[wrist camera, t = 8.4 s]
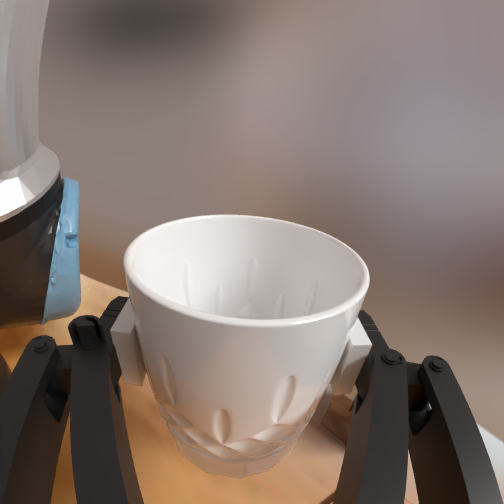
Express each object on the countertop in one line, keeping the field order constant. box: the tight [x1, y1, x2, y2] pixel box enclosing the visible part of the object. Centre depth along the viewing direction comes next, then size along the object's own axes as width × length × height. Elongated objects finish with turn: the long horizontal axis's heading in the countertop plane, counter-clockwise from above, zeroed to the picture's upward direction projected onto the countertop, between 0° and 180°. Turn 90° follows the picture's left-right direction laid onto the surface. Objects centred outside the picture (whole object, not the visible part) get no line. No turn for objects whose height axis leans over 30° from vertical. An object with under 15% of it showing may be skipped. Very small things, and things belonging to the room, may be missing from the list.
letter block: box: [321, 386, 358, 444], centre depth 25 cm, size 6×6×6 cm
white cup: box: [124, 215, 369, 478], centre depth 11 cm, size 8×8×10 cm
